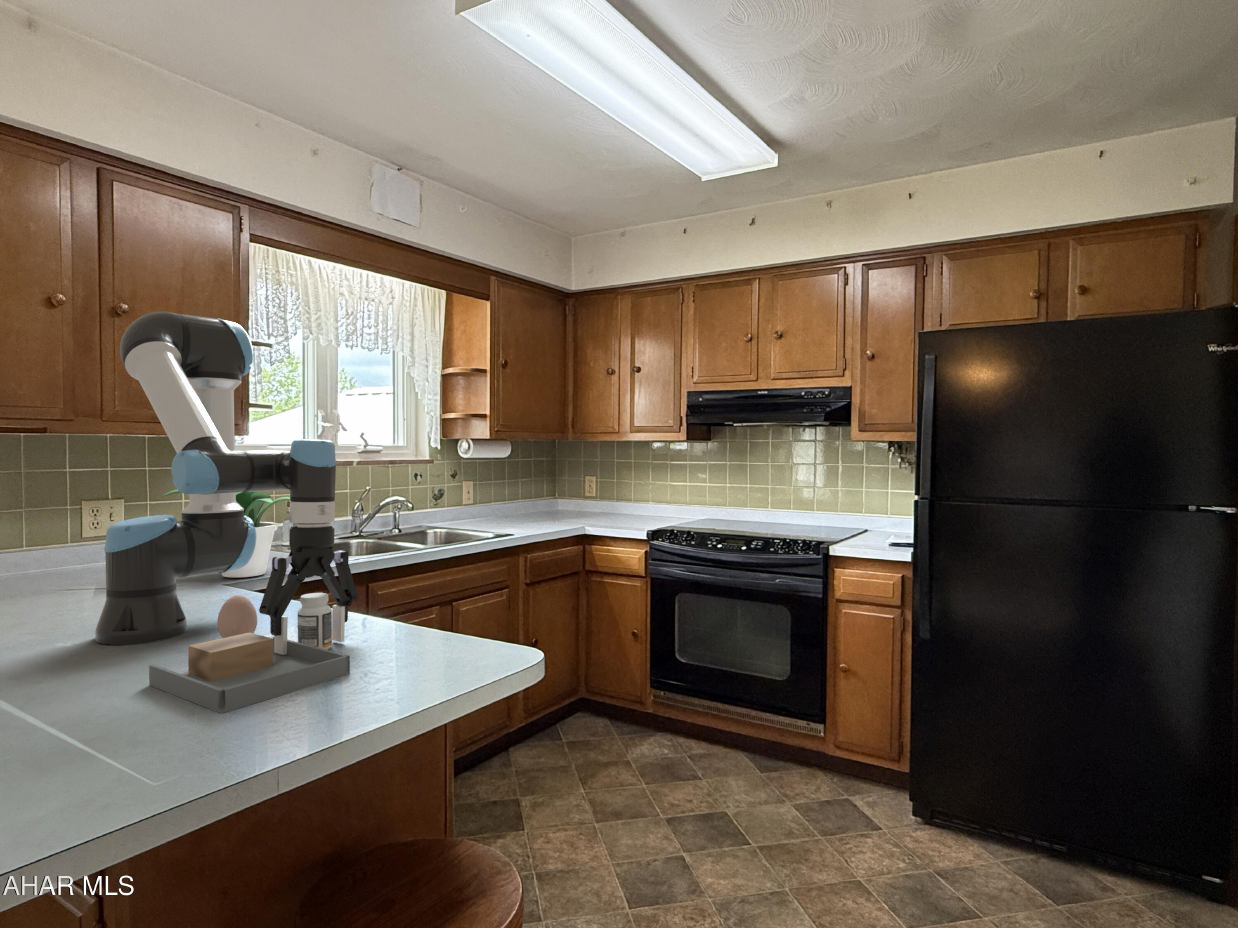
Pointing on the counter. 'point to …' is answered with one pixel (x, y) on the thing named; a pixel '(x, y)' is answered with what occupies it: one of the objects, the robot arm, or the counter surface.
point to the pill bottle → (315, 621)
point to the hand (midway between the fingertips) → (310, 646)
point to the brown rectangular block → (230, 656)
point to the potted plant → (263, 531)
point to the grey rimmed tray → (256, 678)
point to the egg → (237, 617)
